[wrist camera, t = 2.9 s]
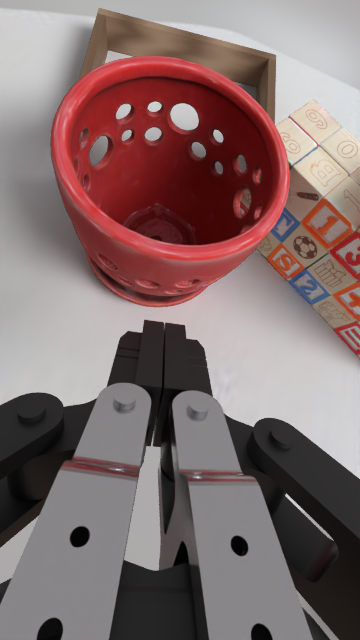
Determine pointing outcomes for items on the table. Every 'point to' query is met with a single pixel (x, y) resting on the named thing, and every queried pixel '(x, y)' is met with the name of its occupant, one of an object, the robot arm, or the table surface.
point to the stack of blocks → (320, 219)
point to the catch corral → (182, 52)
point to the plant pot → (166, 177)
